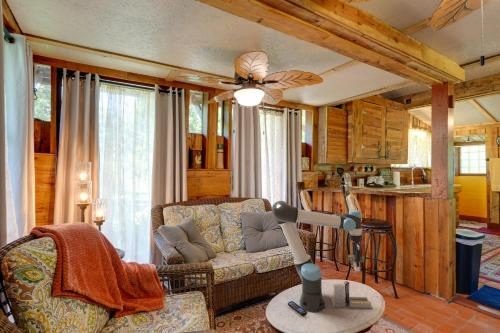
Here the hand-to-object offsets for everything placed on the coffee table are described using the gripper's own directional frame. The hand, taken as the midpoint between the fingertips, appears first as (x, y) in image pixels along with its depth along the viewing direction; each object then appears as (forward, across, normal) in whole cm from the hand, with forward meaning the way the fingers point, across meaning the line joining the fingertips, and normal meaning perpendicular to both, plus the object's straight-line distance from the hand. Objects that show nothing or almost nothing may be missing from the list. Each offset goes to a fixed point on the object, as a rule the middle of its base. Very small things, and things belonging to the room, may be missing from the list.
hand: (357, 270), depth 177 cm
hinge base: (+15, -14, +8) cm, 22 cm away
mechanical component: (+1, 0, 0) cm, 1 cm away
